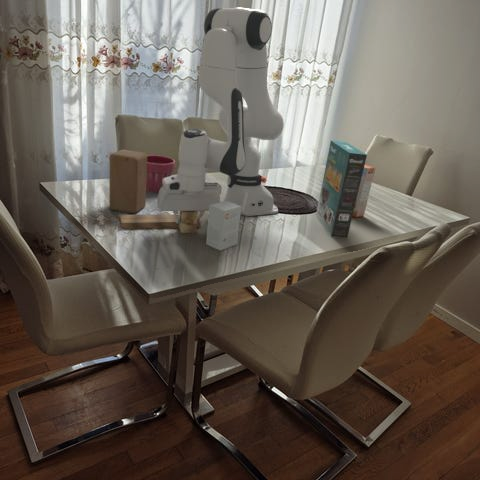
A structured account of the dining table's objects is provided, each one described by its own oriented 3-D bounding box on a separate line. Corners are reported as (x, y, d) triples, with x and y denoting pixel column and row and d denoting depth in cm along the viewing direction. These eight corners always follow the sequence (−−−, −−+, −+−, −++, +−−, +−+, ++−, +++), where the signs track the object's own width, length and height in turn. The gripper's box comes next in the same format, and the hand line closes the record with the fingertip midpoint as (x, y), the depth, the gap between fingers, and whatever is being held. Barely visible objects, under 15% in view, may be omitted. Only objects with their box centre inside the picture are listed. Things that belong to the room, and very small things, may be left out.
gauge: (189, 222, 147) (191, 203, 145) (196, 232, 140) (198, 212, 137) (175, 222, 146) (176, 203, 143) (181, 232, 138) (182, 212, 135)
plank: (195, 219, 151) (195, 214, 150) (200, 227, 145) (201, 221, 144) (119, 220, 141) (119, 214, 141) (121, 228, 135) (121, 222, 135)
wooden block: (135, 214, 148) (136, 158, 140) (108, 209, 149) (108, 153, 141) (146, 206, 157) (148, 152, 149) (121, 202, 158) (121, 148, 150)
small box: (222, 238, 138) (226, 200, 133) (237, 244, 135) (242, 206, 130) (205, 244, 132) (208, 204, 127) (220, 251, 129) (224, 210, 124)
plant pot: (170, 196, 171) (172, 165, 166) (135, 192, 171) (136, 160, 166) (175, 186, 184) (177, 157, 179) (143, 182, 184) (144, 153, 179)
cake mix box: (347, 237, 152) (367, 154, 141) (331, 236, 152) (349, 152, 140) (330, 216, 172) (346, 142, 161) (315, 215, 171) (330, 140, 160)
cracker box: (364, 216, 178) (376, 167, 170) (355, 218, 174) (367, 168, 166) (338, 205, 187) (348, 158, 179) (329, 207, 184) (339, 159, 176)
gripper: (219, 180, 141) (215, 218, 146) (157, 178, 134) (155, 219, 139) (225, 185, 135) (220, 225, 141) (160, 184, 128) (158, 227, 134)
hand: (187, 222), depth 140 cm, fingers closed on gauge, 5 cm apart
